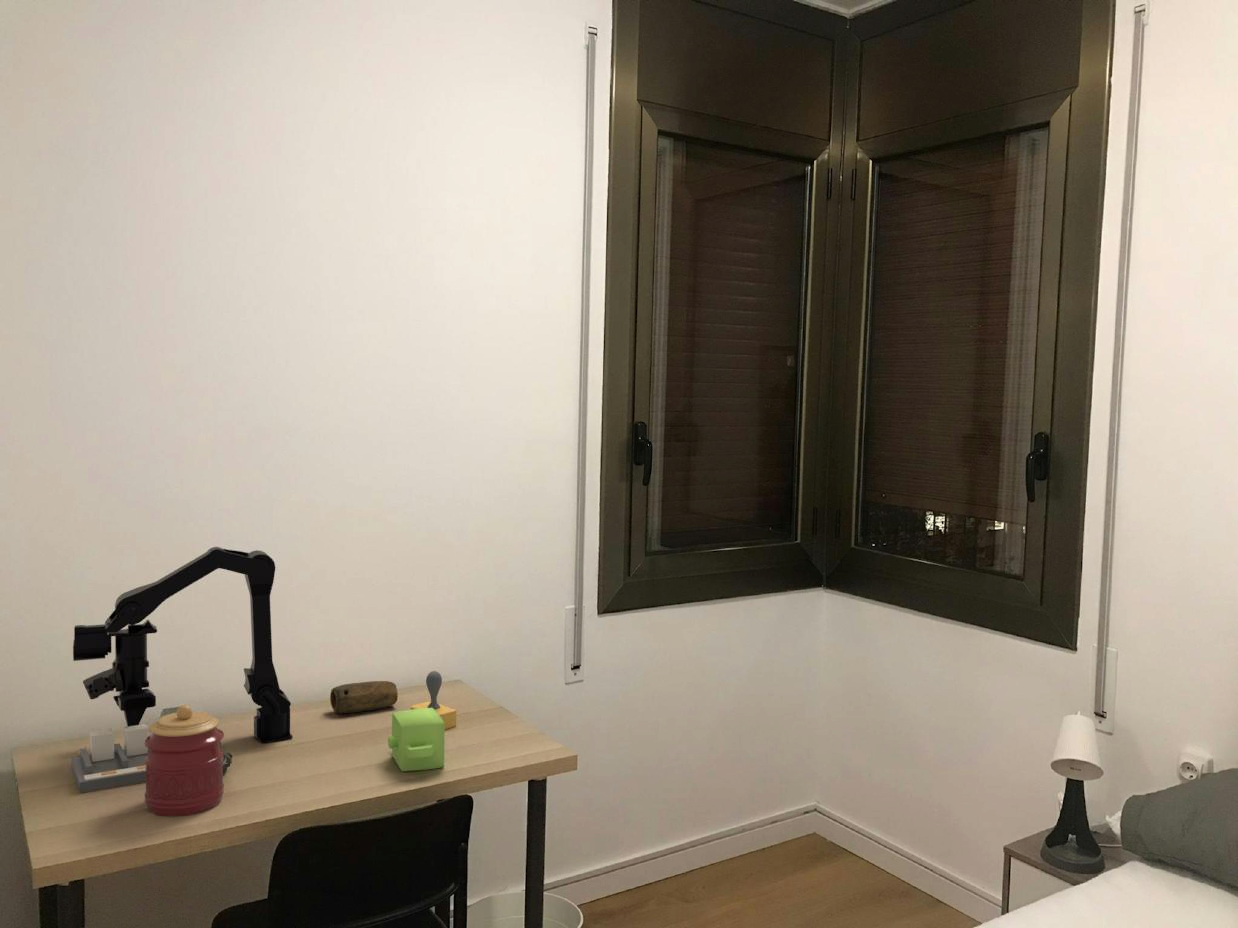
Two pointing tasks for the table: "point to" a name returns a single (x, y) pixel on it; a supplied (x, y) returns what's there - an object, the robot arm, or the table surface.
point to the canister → (184, 763)
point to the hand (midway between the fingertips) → (131, 732)
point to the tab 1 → (101, 745)
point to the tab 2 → (135, 740)
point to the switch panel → (108, 770)
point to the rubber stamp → (433, 688)
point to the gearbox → (417, 739)
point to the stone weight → (363, 696)
